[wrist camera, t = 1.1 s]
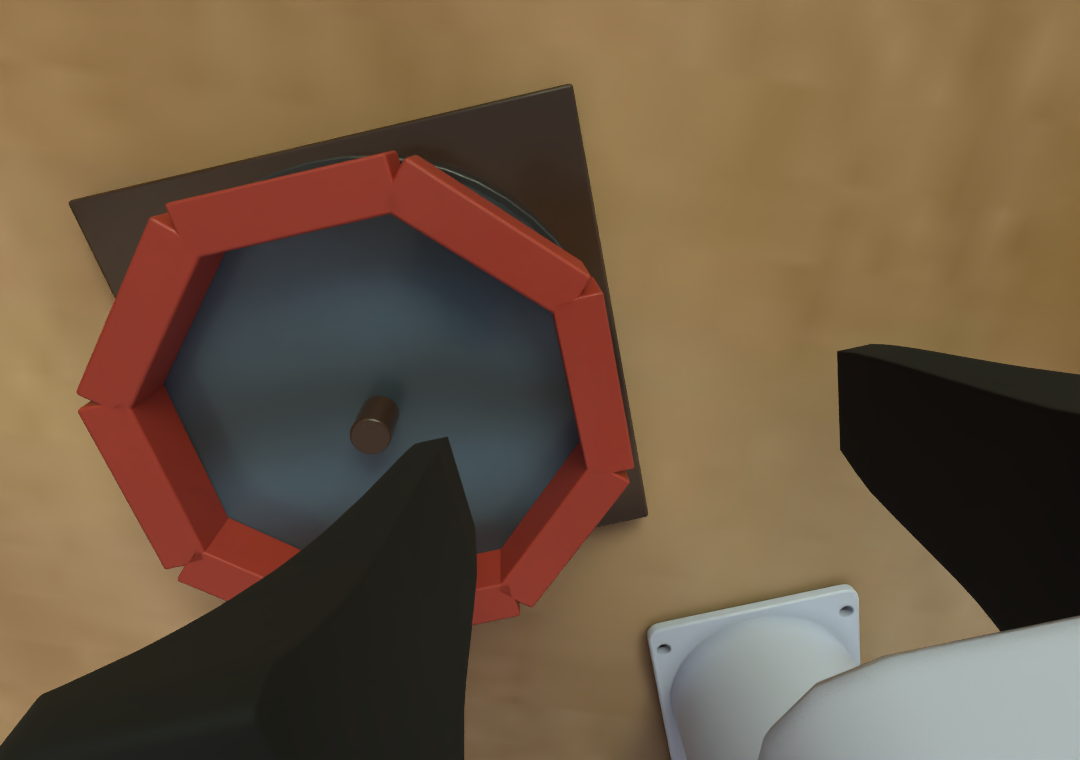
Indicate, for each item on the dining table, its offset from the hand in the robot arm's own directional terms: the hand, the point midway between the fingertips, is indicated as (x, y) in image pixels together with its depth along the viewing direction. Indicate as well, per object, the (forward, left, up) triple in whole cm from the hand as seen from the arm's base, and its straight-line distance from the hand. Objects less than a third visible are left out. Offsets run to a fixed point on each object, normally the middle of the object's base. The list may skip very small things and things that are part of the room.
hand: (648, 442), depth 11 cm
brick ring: (0, +6, -5) cm, 8 cm away
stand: (0, +6, -8) cm, 10 cm away
